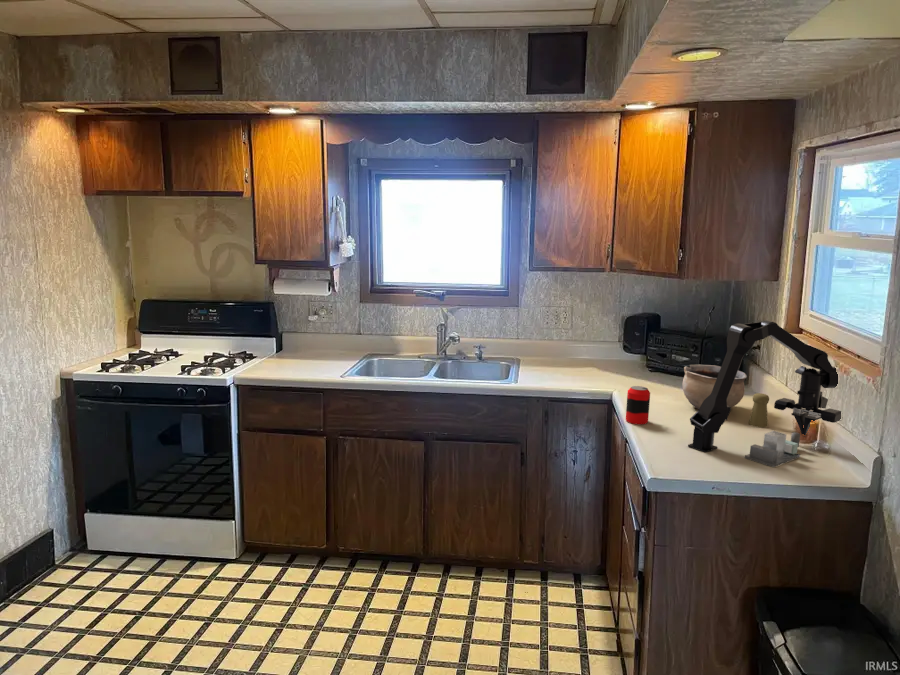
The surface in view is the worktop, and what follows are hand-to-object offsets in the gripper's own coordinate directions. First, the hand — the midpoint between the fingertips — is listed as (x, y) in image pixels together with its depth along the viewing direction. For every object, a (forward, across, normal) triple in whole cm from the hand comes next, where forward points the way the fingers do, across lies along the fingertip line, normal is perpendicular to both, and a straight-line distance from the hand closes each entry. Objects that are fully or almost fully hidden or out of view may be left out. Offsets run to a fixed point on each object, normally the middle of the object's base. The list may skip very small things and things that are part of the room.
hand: (804, 436), depth 215 cm
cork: (+3, +20, -9) cm, 22 cm away
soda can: (+4, +46, +24) cm, 52 cm away
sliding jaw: (+2, 0, +9) cm, 10 cm away
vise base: (+3, 0, +18) cm, 19 cm away
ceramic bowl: (+3, +40, -12) cm, 42 cm away
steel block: (+2, 0, +18) cm, 19 cm away
